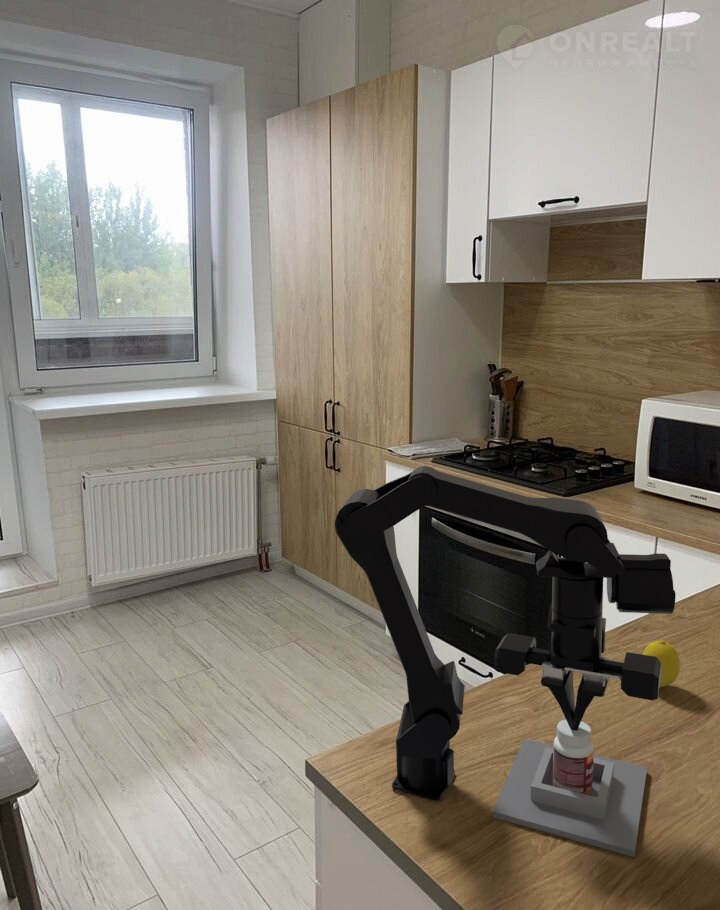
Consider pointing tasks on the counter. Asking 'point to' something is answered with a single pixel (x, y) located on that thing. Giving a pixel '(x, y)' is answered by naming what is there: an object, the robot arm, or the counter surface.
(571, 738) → the pill bottle
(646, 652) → the lemon
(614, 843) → the bottle stand
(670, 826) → the counter surface
